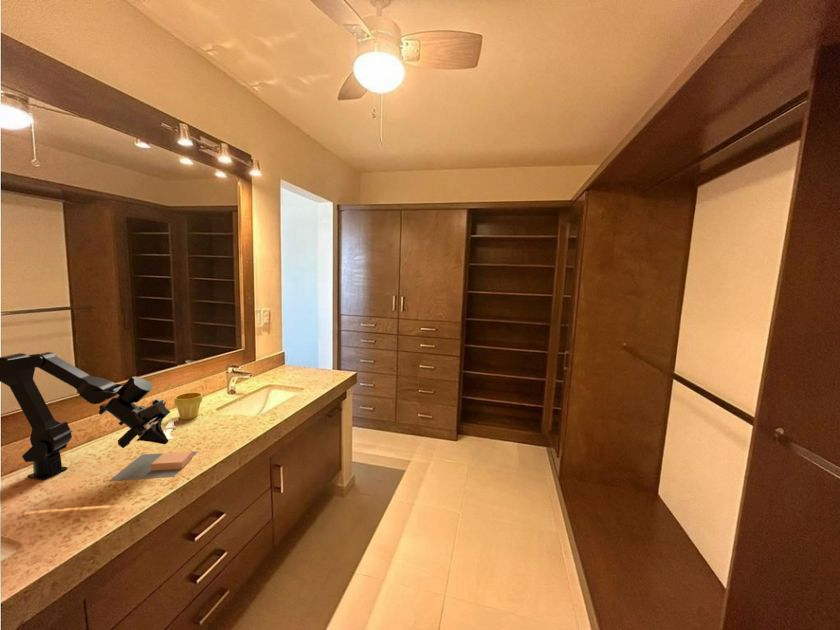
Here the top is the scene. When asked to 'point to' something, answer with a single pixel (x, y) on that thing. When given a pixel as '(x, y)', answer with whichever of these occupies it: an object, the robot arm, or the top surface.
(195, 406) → the plant pot
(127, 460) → the top surface
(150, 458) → the mat
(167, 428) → the knife
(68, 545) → the top surface
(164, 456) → the tile
